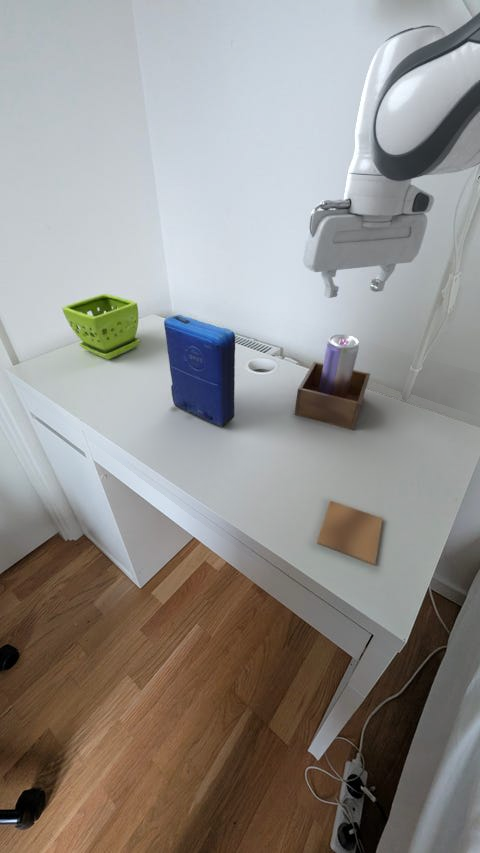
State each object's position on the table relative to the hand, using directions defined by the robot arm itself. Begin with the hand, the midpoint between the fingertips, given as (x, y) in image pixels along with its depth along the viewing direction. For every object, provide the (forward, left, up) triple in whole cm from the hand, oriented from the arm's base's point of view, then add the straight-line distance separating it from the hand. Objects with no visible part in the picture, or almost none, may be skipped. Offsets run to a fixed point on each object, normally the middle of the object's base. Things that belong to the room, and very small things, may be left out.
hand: (353, 293), depth 59 cm
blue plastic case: (+24, +14, -25) cm, 37 cm away
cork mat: (-10, +30, -24) cm, 40 cm away
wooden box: (0, 0, -24) cm, 24 cm away
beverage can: (0, 0, -24) cm, 24 cm away
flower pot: (+62, -1, -25) cm, 67 cm away
